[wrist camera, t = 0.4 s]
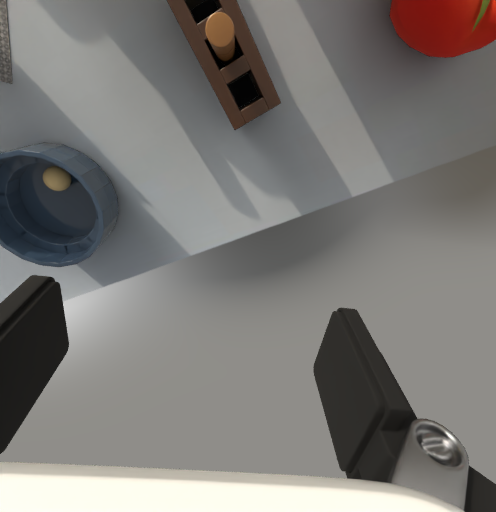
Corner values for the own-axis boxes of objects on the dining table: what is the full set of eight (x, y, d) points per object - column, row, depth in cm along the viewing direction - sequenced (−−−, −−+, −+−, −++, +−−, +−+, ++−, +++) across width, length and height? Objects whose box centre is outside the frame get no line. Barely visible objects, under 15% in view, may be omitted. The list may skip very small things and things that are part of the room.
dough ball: (45, 170, 42) (31, 176, 39) (63, 159, 41) (51, 164, 39) (62, 191, 43) (50, 198, 41) (80, 180, 43) (69, 186, 40)
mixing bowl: (-17, 177, 43) (-56, 190, 37) (67, 119, 40) (39, 124, 34) (63, 261, 49) (40, 283, 44) (141, 217, 46) (128, 235, 41)
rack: (234, 123, 41) (234, 130, 34) (173, 4, 35) (157, -18, 28) (273, 100, 40) (281, 103, 33) (216, -27, 34) (211, -58, 27)
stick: (214, 51, 37) (199, 22, 21) (229, 42, 37) (225, 5, 21) (223, 68, 38) (215, 53, 22) (237, 59, 37) (239, 37, 22)
